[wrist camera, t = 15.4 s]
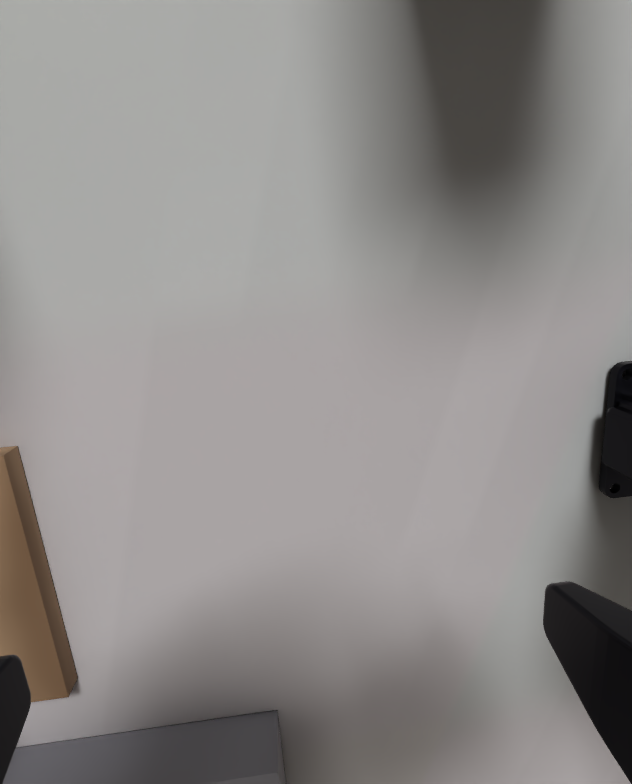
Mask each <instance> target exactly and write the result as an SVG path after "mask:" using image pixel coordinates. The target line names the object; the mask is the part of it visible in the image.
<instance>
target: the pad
mask: <svg viewBox="0 0 632 784" xmlns="http://www.w3.org/2000/svg"><path fill="white" fill-rule="evenodd" d="M5 655H17V656H18V657H19V658H20V659H21V662H22V665H23V668H24V672H25V675H26V678H27V682H28V685H29V689H30V693H31V702H36V701H43V700H50V699H57V698H65V697H69V695H70V693H71V691H72V689H73V687H74V685H75V683H76V680H77V678H78V677H77V674H76V670H75V666H74V662H73V658H72V654H71V651H70V647H69V643H68V639H67V635H66V631H65V627H64V624H63V620H62V616H61V612H60V608H59V604H58V600H57V597H56V593H55V589H54V585H53V581H52V577H51V573H50V570H49V566H48V562H47V558H46V554H45V550H44V547H43V543H42V539H41V535H40V531H39V527H38V523H37V520H36V516H35V512H34V508H33V504H32V500H31V496H30V493H29V489H28V485H27V481H26V477H25V473H24V469H23V466H22V462H21V458H20V454H19V450H18V446H13V447H3V448H0V656H5Z"/></svg>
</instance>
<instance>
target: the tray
mask: <svg viewBox="0 0 632 784" xmlns="http://www.w3.org/2000/svg"><path fill="white" fill-rule="evenodd" d="M3 784H286V779H285V770H284V762H283V754H282V745H281V737H280V729H279V720H278V712H277V710H275V711H268V712H261V713H254V714H248V715H241V716H234V717H227V718H220V719H213V720H206V721H199V722H192V723H185V724H178V725H172V726H165V727H158V728H151V729H144V730H137V731H130V732H123V733H116V734H109V735H102V736H96V737H89V738H82V739H75V740H68V741H61V742H54V743H47V744H40V745H33V746H26V747H20V748H15V751H14V754H13V756H12V759H11V762H10V764H9V767H8V770H7V773H6V775H5V778H4V781H3Z"/></svg>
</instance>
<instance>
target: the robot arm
mask: <svg viewBox="0 0 632 784" xmlns="http://www.w3.org/2000/svg"><path fill="white" fill-rule="evenodd" d="M625 370H626V374H625V376H624V377H623V378H622V374H623V372H624V371H625ZM613 484H614V485H613ZM612 485H613V487H612V488H611V489H610V487H611V486H612ZM599 489H600V491H601V492H602V493H603V494H605V495H607V496H608V497H610V498H618V497H627V496H632V361H625V362H620V363H617V364H616V365H614V367H613V368H612V369H611V373H610V380H609V390H608V400H607V411H606V421H605V431H604V441H603V451H602V461H601V471H600V481H599ZM543 625H544V630H545V633H546V636H547V638H548V640H549V642H550V644H551V646H552V648H553V649H554V651H555V653H556V655H557V657H558V659H559V661H560V663H561V664H562V666H563V668H564V670H565V672H566V674H567V676H568V678H569V679H570V681H571V683H572V685H573V687H574V689H575V691H576V692H577V694H578V696H579V698H580V700H581V702H582V704H583V706H584V707H585V709H586V711H587V713H588V715H589V717H590V718H591V720H592V722H593V724H594V726H595V727H596V729H597V731H598V732H599V734H600V736H601V737H602V739H603V740H604V742H605V744H606V745H607V747H608V748H609V750H610V752H611V753H612V755H613V756H614V758H615V759H616V761H617V762H618V764H619V765H620V767H621V769H622V770H623V772H624V773H625V775H626V776H627V778H628V779H629V781H630V782H631V784H632V611H631V610H629V609H627V608H625V607H623V606H621V605H619V604H617V603H614V602H612V601H610V600H608V599H606V598H604V597H602V596H600V595H598V594H596V593H594V592H592V591H590V590H588V589H586V588H584V587H582V586H580V585H578V584H576V583H573V582H567V581H566V582H559V583H551V584H549V585H548V586H547V587H546V590H545V601H544V616H543ZM30 704H31V693H30V689H29V685H28V682H27V678H26V675H25V672H24V668H23V665H22V662H21V659H20V658H19V657H18V656H17V655H5V656H0V784H3V781H4V778H5V775H6V773H7V770H8V767H9V764H10V762H11V759H12V756H13V754H14V751H15V748H16V745H17V743H18V740H19V737H20V734H21V732H22V729H23V726H24V723H25V721H26V718H27V715H28V712H29V709H30Z"/></svg>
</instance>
